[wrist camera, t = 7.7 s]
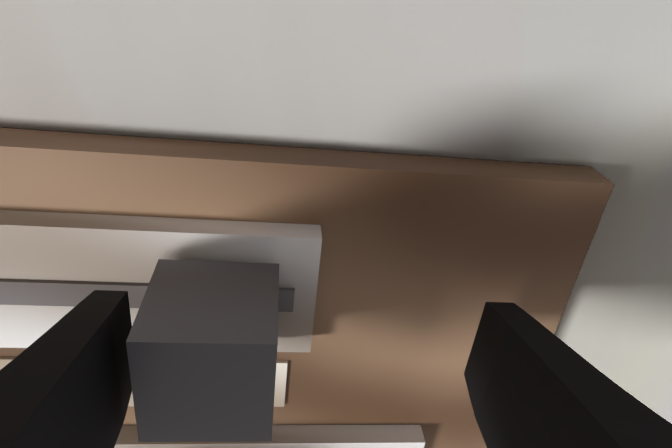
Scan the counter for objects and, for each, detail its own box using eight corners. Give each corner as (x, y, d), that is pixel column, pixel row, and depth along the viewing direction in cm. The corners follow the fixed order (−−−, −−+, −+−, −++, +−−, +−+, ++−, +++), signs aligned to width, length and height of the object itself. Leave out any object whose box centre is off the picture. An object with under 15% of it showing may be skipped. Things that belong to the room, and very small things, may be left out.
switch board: (468, 497, 19) (484, 545, 17) (-71, 508, 16) (-107, 565, 15) (591, 166, 12) (632, 198, 11) (-258, 110, 10) (-351, 140, 9)
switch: (274, 351, 12) (271, 441, 10) (165, 349, 11) (138, 441, 9) (279, 263, 10) (277, 344, 8) (158, 258, 10) (126, 341, 8)
